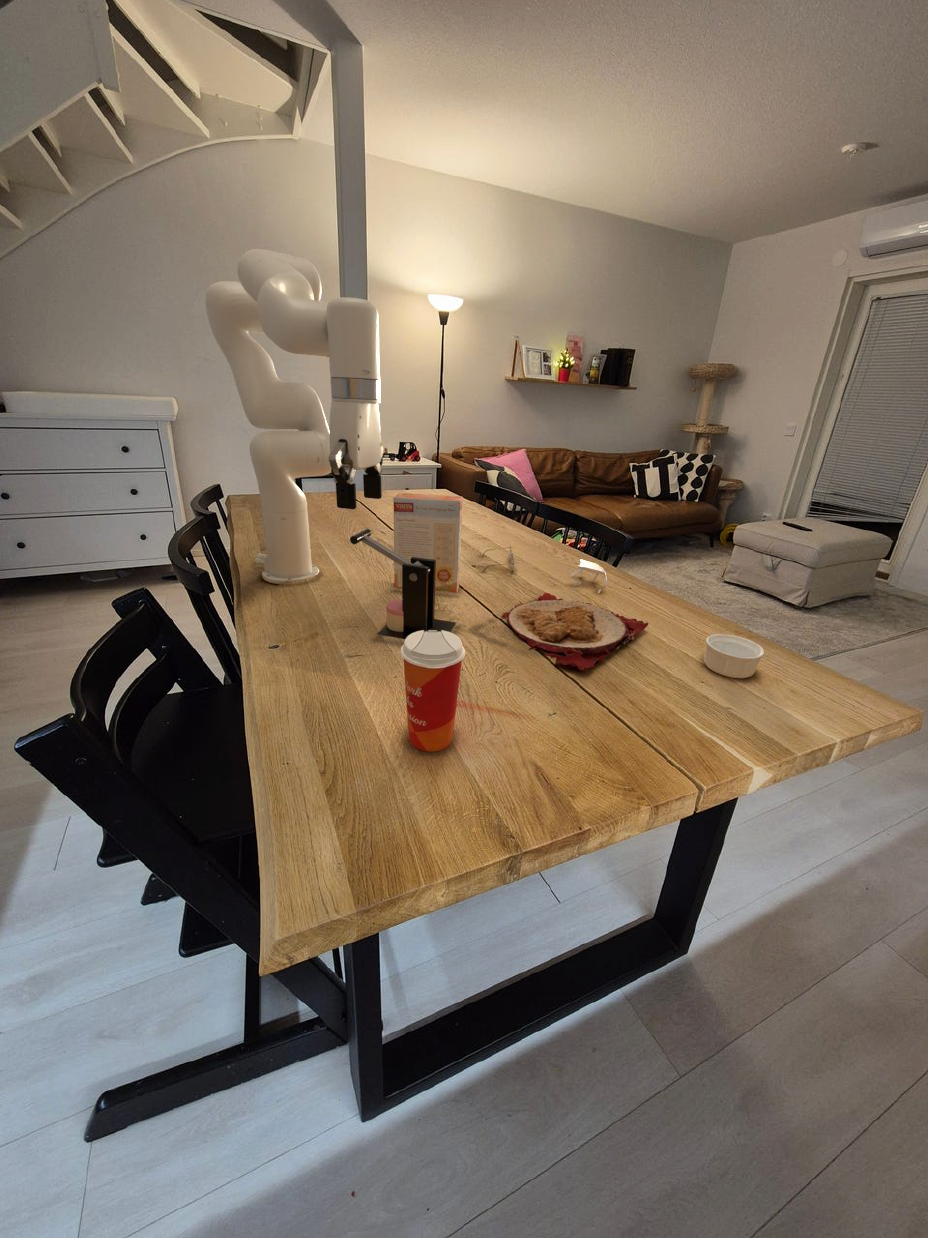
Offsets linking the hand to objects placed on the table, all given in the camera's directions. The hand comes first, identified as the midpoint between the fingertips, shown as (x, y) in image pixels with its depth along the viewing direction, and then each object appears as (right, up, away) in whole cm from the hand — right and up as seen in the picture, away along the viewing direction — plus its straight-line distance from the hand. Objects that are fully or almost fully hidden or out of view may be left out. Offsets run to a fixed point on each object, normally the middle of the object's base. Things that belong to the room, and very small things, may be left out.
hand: (360, 502), depth 85 cm
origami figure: (+47, -12, +35) cm, 60 cm away
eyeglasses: (+26, -6, +47) cm, 54 cm away
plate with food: (+36, -22, +11) cm, 44 cm away
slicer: (+9, -22, +7) cm, 25 cm away
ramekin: (+63, -28, +1) cm, 69 cm away
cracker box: (+9, -13, +28) cm, 32 cm away
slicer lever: (+4, -9, +3) cm, 11 cm away
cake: (+6, -21, +7) cm, 23 cm away
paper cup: (+13, -35, -20) cm, 43 cm away
